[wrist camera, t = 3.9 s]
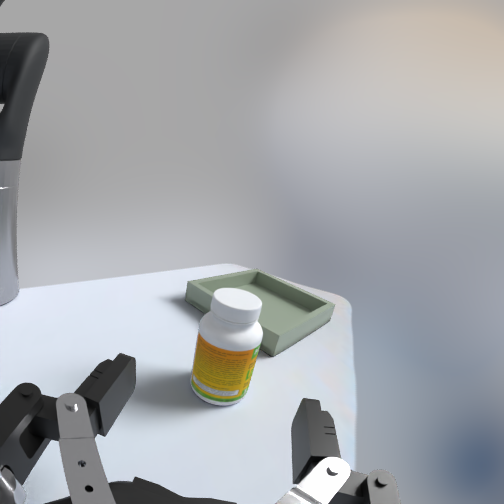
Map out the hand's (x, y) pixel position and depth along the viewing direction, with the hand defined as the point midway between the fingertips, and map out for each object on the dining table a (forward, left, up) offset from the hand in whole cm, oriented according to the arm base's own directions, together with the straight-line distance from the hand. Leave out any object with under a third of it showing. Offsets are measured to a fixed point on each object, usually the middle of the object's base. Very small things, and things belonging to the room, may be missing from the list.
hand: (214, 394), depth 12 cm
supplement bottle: (-7, +9, -10) cm, 15 cm away
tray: (-15, +26, -10) cm, 32 cm away
